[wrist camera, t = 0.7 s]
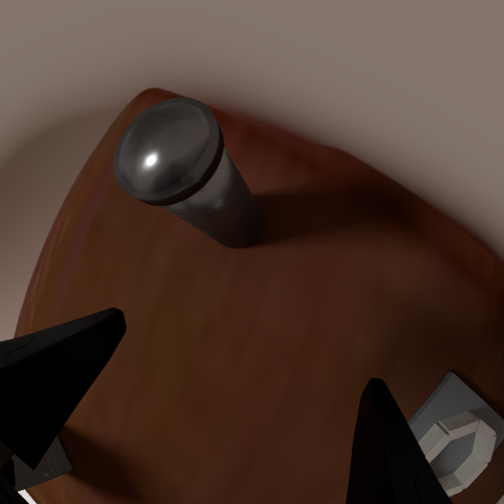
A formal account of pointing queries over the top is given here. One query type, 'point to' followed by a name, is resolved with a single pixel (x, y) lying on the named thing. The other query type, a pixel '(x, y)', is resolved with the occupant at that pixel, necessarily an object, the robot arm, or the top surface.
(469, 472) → the dock
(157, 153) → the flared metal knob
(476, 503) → the top surface
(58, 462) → the skincare box
